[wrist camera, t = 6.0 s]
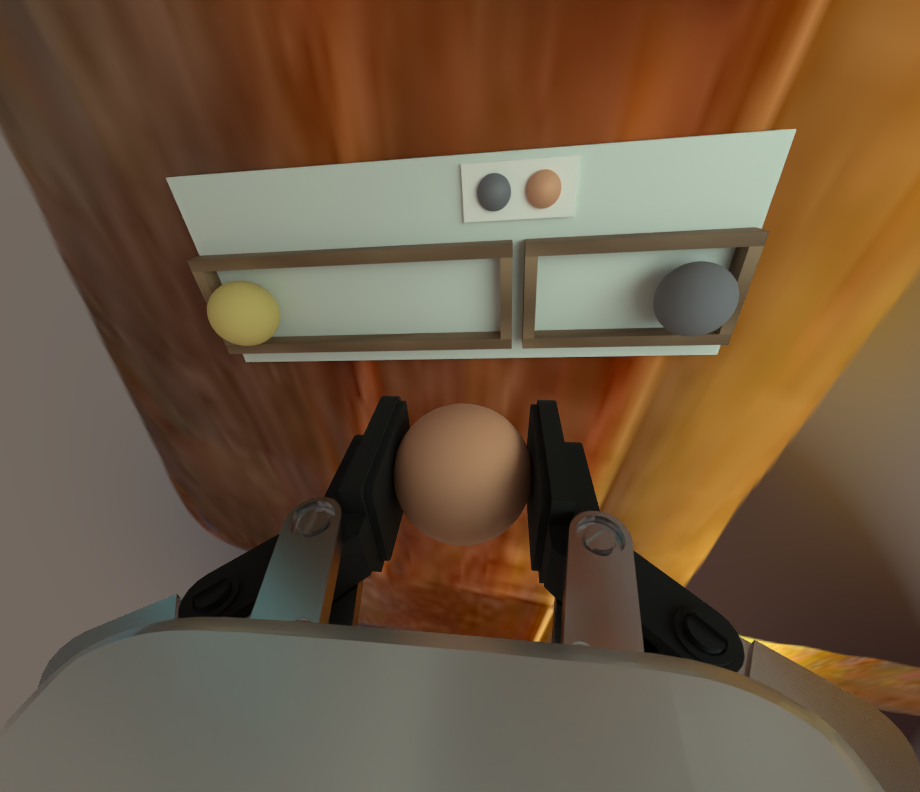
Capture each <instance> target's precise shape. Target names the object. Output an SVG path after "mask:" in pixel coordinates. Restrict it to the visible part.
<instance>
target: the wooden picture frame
mask: <svg viewBox="0 0 920 792" xmlns="http://www.w3.org/2000/svg"><path fill="white" fill-rule="evenodd" d="M491 258H500V311H501V331H492V332H451V333H409V334H368V335H326V336H285V337H271V338H270V339H268V340H267V341H265V342H263V343H261V344H258V345H254V346H241V345H237V344H233V343H231V342H229V341H227V340H225V339H223V338H222V339H223V341H224V343H225V346H226V348H227V350H228V352H229V354H263V353H316V352H369V351H422V350H476V349H512V272H513V242H512V240H496V241H476V242H457V243H437V244H418V245H398V246H378V247H359V248H339V249H320V250H300V251H281V252H261V253H242V254H222V255H203V256H197V257H195V258H192V259H189V260H187V263H188V265H189V267H190V269H191V271H192V273H193V276H194V278H195V280H196V282H197V284H198V287H199V289H200V291H201V293H202V295H203V298H204V300H205V302H206V304H207V305H208V301H209V298H210V296H211V295H212V293H213V292H214V291H215V290H216V289H217V288H219V287H220V286H221V285H222V283H221V281H220V278H219V276H218V274H217V271H229V270H251V269H273V268H295V267H317V266H338V265H360V264H382V263H404V262H426V261H447V260H469V259H491Z"/></svg>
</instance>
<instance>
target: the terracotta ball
mask: <svg viewBox="0 0 920 792" xmlns="http://www.w3.org/2000/svg"><path fill="white" fill-rule="evenodd" d="M531 484H532V465H531V459H530V455H529V452H528V449H527V447H526V444H525V442H524V440H523V438H522V437H521V435H520V434H519V432H518V431H517V430H516V428H515V427H514V426H513V425H512V424H511V423H510V422H509V421H508V420H507V419H505V418H504V417H503V416H501V415H500V414H498V413H496V412H495V411H493V410H490V409H488V408H486V407H482V406H479V405H474V404H452V405H447V406H443V407H440V408H437V409H435V410H433V411H431V412H429V413H427V414H426V415H424V416H423V417H421V418H420V419H419V420H418V421H417V422H416V423H415V424H414V425H413V426H411V427H410V429H409V430H408V432H407V433H406V434H405V436H404V437H403V439H402V441H401V443H400V445H399V447H398V450H397V453H396V458H395V465H394V488H395V492H396V496H397V499H398V502H399V504H400V506H401V508H402V510H403V512H404V513H405V515H406V516H407V518H408V519H409V520H410V521H411V522H412V523H413V525H414V526H415V527H416V528H418V529H419V530H420V531H421V532H423V533H424V534H426V535H427V536H429V537H431V538H432V539H435V540H437V541H440V542H443V543H447V544H452V545H475V544H480V543H483V542H486V541H488V540H491V539H493V538H495V537H497V536H498V535H500V534H501V533H503V532H504V531H506V530H507V529H508V528H509V527H510V526H511V525H512V524H513V523H514V522H515V521H516V520H517V518H518V517H519V516H520V514H521V512H522V511H523V509H524V507H525V505H526V503H527V500H528V497H529V495H530V490H531Z"/></svg>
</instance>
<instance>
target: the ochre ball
mask: <svg viewBox="0 0 920 792" xmlns="http://www.w3.org/2000/svg"><path fill="white" fill-rule="evenodd" d="M207 316H208V319H209V322H210V324H211V326H212V328H213V329H214V330H215V332H216V333H217V334H218V335H219V336H221V337H222V338H223V339H225V340H227V341H229V342H231V343H233V344H237V345H241V346H254V345H258V344H261V343H263V342H265V341H267V340H268V339H270V338H271V337H272V336H273V335H274V334H275V332H276V331H277V329H278V327H279V323H280V310H279V307H278V304H277V302H276V300H275V299H274V297H273V296H272V295H271V294H270V293H269V292H268V291H267V290H265V289H264V288H262V287H261V286H259V285H257V284H254V283H251V282H247V281H233V282H229V283H226V284H223V285H221V286H220V287H219V288H217V289H216V290H215V291H214V292H213V293H212V295H211V296H210V298H209V301H208V305H207Z"/></svg>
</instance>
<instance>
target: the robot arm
mask: <svg viewBox="0 0 920 792" xmlns="http://www.w3.org/2000/svg"><path fill="white" fill-rule="evenodd" d="M409 429H410V425H409V417H408V410H407V404H406V401H401V399H400V397H398V396H382V397H381V399H380V401H379V403H378V405H377V407H376V409H375V412H374V414H373V416H372V418H371V420H370V422H369V424H368V427H367V429H366V431H365V433H364V435H356V436H355V437H354V438H353V440H352V442H351V444H350V446H349V448H348V450H347V452H346V454H345V456H344V458H343V460H342V462H341V464H340V466H339V468H338V470H337V472H336V474H335V476H334V478H333V480H332V482H331V484H330V486H329V488H328V490H327V492H326V494H325V496H324V497H315V498H310V499H308V500H305V501H303V502H301V503H300V504H298V505H297V506H295V507H294V508H293V509H292V510H291V511H290V512H289V513H288V515H287V517H286V519H285V520H284V523H283V526H282V529H281V531H280V534H278V535H276V536H275V537H273V538H271V539H269V540H268V541H266V542H264V543H262V544H260V545H259V546H257V547H255V548H253V549H252V550H250V551H248V552H246V553H244V554H243V555H241V556H239V557H237V558H235V559H234V560H232V561H230V562H229V563H227V564H225V565H223V566H221V567H219V568H218V569H216V570H214V571H212V572H211V573H209V574H207V575H206V576H204V577H203V578H201V579H200V580H199V581H197V582H196V583H195V584H194V585H193V586H192V587H191V588H190V589H189V590H188V592H187V593H186V594H185V595H184V596H182V597H179V596H178V595H177V594H175V595H172V596H170V597H168V598H165V599H163V600H160V601H158V602H156V603H153V604H151V605H148V606H146V607H143V608H141V609H139V610H136V611H134V612H131V613H129V614H126V615H124V616H122V617H119V618H117V619H115V620H112V621H109V622H107V623H105V624H102V625H100V626H97V627H95V628H93V629H90V630H88V631H86V632H84V633H82V634H80V635H78V636H76V637H74V638H73V639H72V640H70V641H69V642H68V643H67V644H65V645H64V646H63V647H62V648H60V650H58V652H57V653H56V654H55V655H54V656H53V657H52V659H51V660H50V661H49V662H48V664H47V666H46V668H45V670H44V672H43V674H42V677H41V680H40V682H39V685H38V688H37V689H36V691H34V693H33V694H32V695H31V696H30V697H29V698H28V699H27V700H26V701H25V702H24V703H23V704H22V705H21V706H20V708H19V709H17V710H16V711H15V713H14V714H13V715H12V716H11V717H10V718H9V719H8V720H7V721H6V722H5V723H4V725H3V726H2V727H1V728H0V792H920V769H919V764H918V761H917V759H916V756H915V753H914V750H913V748H912V747H911V745H910V744H909V742H908V741H907V739H906V738H905V736H904V735H903V733H902V732H901V731H900V730H899V729H898V728H897V727H896V726H895V725H894V724H893V723H892V722H891V721H890V720H889V719H888V718H887V717H886V716H885V715H884V714H883V713H881V712H880V711H878V710H877V709H875V708H874V707H873V706H871V705H870V704H868V703H867V702H865V701H863V700H861V699H860V698H858V697H856V696H854V695H852V694H851V693H849V692H847V691H845V690H843V689H842V688H840V687H838V686H836V685H834V684H833V683H831V682H829V681H827V680H826V679H824V678H822V677H820V676H818V675H817V674H815V673H813V672H811V671H809V670H808V669H806V668H804V667H802V666H800V665H799V664H797V663H795V662H793V661H792V660H790V659H788V658H786V657H784V656H783V655H781V654H779V653H777V652H775V651H774V650H772V649H770V648H768V647H766V646H765V645H763V644H761V643H759V642H758V641H756V640H754V641H753V642H752V644H751V643H750V642H748V641H746V640H744V639H743V638H741V637H739V635H738V634H737V632H736V630H735V629H734V628H733V626H732V625H731V624H730V623H729V621H728V620H726V619H725V618H724V617H723V616H722V615H721V614H719V613H718V612H717V611H716V610H714V609H713V608H712V607H710V606H709V605H708V604H706V603H705V602H703V601H702V600H701V599H699V598H698V597H697V596H695V595H694V594H692V593H691V592H690V591H688V590H687V589H686V588H684V587H683V586H681V585H680V584H679V583H677V582H676V581H675V580H673V579H672V578H670V577H669V576H668V575H666V574H665V573H664V572H662V571H661V570H659V569H658V568H657V567H655V566H654V565H653V564H651V563H650V562H648V561H647V560H646V559H644V558H643V557H642V556H640V555H639V554H637V553H636V552H635V551H633V543H632V539H631V535H630V533H629V531H628V530H627V528H626V527H625V525H624V524H622V523H621V522H620V521H619V520H618V519H617V518H615V517H613V516H611V515H609V514H607V513H604V512H600V510H599V506H598V502H597V499H596V495H595V491H594V487H593V483H592V480H591V476H590V472H589V468H588V464H587V461H586V457H585V453H584V449H583V446H582V444H581V443H576V442H564V437H563V432H562V427H561V423H560V418H559V413H558V408H557V403H556V401H555V400H538V401H537V405H535V404H531V407H530V417H529V428H528V439H527V449H528V452H529V455H530V459H531V465H532V484H531V490H530V495H529V497H528V500H527V513H528V528H529V542H530V557H531V569H532V570H533V571H539V583H544V587H545V588H546V589H547V590H548V591H549V592H550V593H551V594H552V595H553V596H554V597H555V601H554V615H553V628H552V642H551V643H545V642H534V641H523V640H512V639H500V638H489V637H478V636H466V635H454V634H443V633H431V632H419V631H407V630H395V629H383V628H371V627H359V626H358V620H359V612H360V604H361V596H362V588H363V580H364V579H365V578H367V577H368V576H370V575H371V572H372V571H375V572H381V571H382V568H383V564H384V561H389V560H390V559H391V556H392V552H393V549H394V545H395V541H396V537H397V533H398V530H399V526H400V522H401V518H402V514H403V510H402V508H401V506H400V504H399V502H398V499H397V496H396V492H395V488H394V465H395V458H396V453H397V450H398V447H399V445H400V443H401V441H402V439H403V437H404V436H405V434H406V433H407V432H408V430H409Z"/></svg>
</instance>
